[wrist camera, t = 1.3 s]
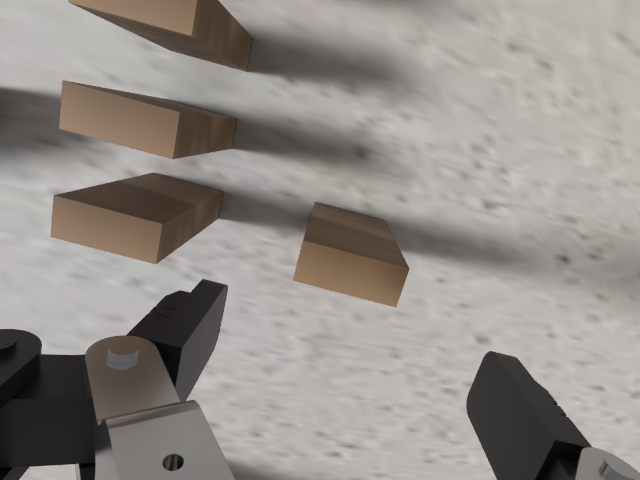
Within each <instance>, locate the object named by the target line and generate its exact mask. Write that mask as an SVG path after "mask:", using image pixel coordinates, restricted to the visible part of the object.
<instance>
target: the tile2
mask: <svg viewBox="0 0 640 480" xmlns="http://www.w3.org/2000/svg"><path fill="white" fill-rule="evenodd" d="M236 124H237V119H236V118H233V117H229V116H225V115H222V114H218V113H214V112H211V111H207V110H203V109H200V108H196V107H192V106H189V105H185V104H181V103H178V102H174V101H170V100H166V99H162V98H157V97H151V96H146V95H140V94H135V93H129V92H124V91H118V90H113V89H107V88H102V87H96V86H91V85H85V84H79V83H74V82H68V81H63V83H62V96H61V109H60V122H59V129H62V130H66V131H69V132H73V133H77V134H81V135H84V136H88V137H92V138H96V139H99V140H103V141H107V142H111V143H114V144H118V145H122V146H126V147H129V148H133V149H137V150H141V151H144V152H148V153H152V154H156V155H159V156H163V157H167V158H170V159H176V158H181V157H187V156H193V155H199V154H204V153H210V152H216V151H221V150H227V149H232V144H233V139H234V134H235V129H236Z"/></svg>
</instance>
